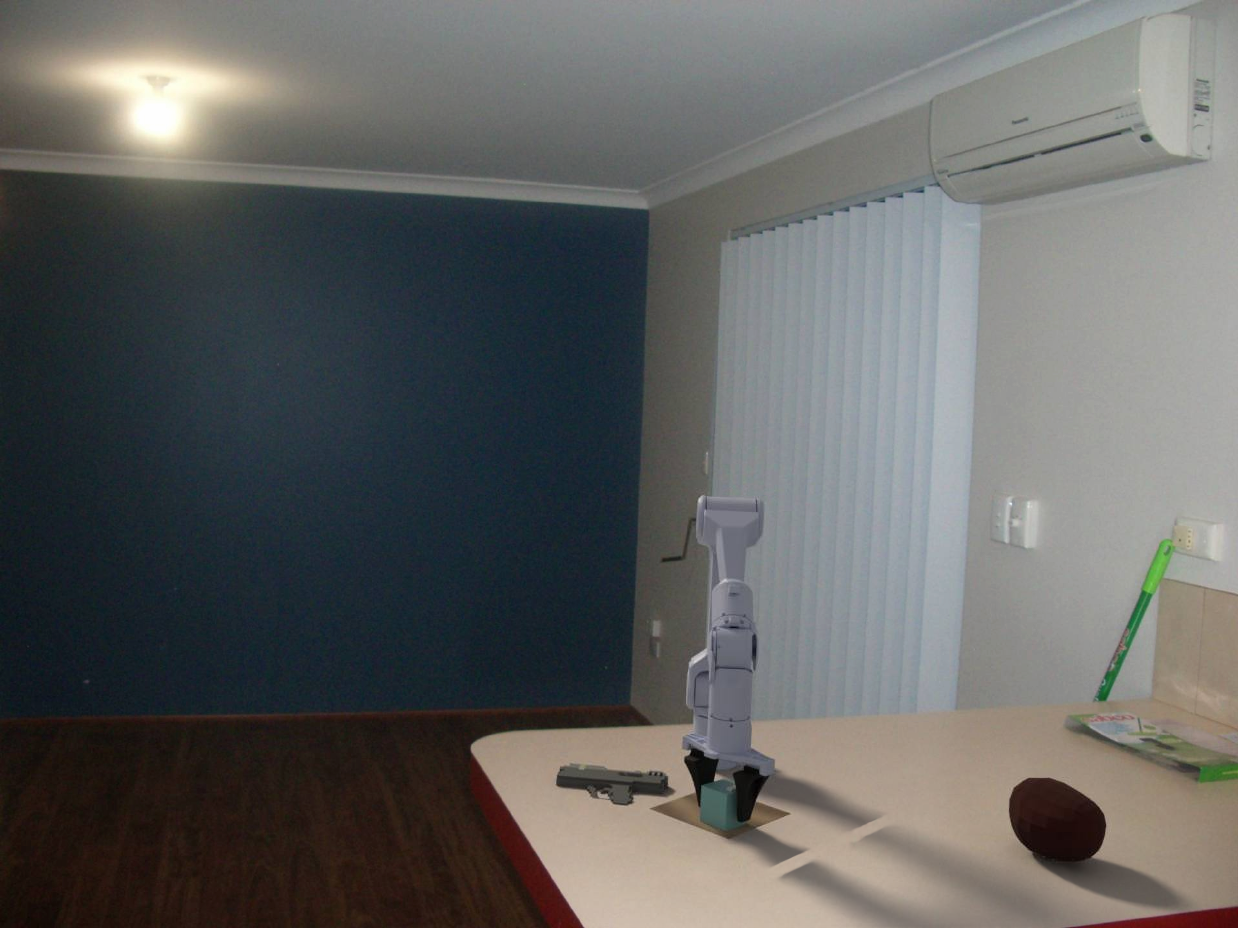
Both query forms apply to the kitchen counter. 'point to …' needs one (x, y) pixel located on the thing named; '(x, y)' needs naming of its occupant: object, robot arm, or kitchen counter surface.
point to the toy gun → (612, 781)
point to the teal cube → (719, 805)
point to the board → (690, 814)
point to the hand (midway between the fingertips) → (724, 812)
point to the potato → (1056, 820)
